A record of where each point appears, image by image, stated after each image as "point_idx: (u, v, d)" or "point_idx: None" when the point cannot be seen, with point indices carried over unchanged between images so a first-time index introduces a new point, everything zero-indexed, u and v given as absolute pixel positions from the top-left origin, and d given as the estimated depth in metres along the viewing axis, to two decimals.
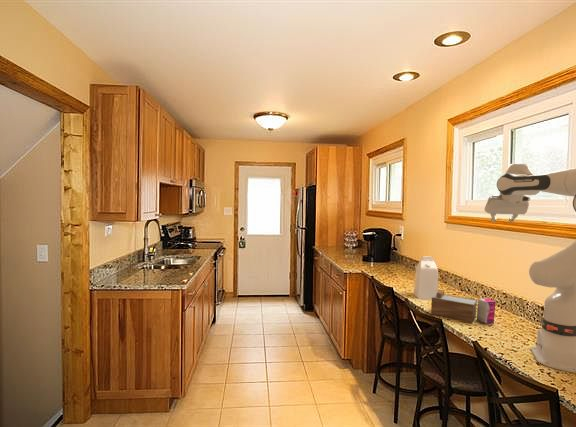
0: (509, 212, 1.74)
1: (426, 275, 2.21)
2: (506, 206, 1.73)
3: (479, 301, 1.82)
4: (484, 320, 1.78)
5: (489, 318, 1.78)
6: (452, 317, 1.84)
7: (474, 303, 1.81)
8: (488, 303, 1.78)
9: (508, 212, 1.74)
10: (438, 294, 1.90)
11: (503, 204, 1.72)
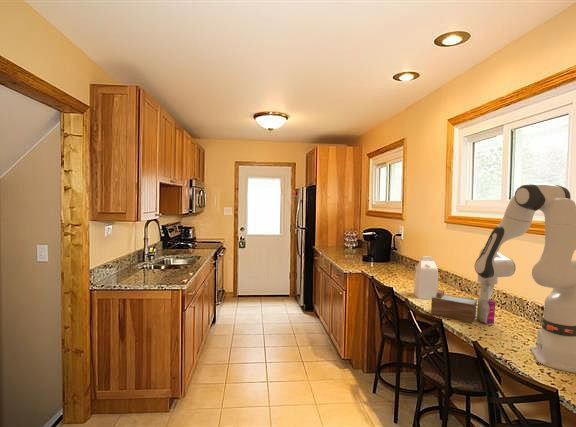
0: (490, 295, 1.80)
1: (426, 275, 2.21)
2: (490, 290, 1.79)
3: (479, 301, 1.82)
4: (484, 320, 1.78)
5: (489, 318, 1.78)
6: (452, 317, 1.84)
7: (474, 303, 1.81)
8: (488, 303, 1.78)
9: (490, 295, 1.80)
10: (438, 294, 1.90)
11: (489, 288, 1.77)
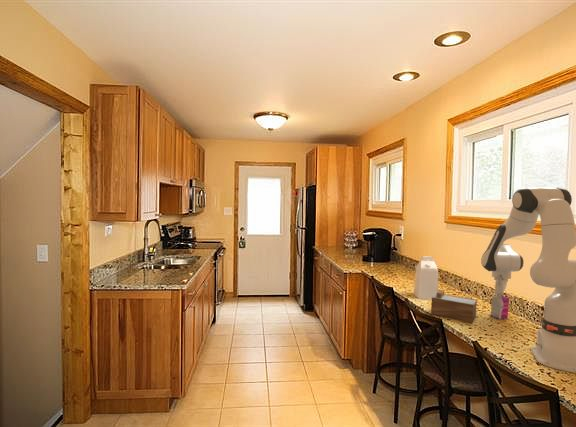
0: (504, 289, 1.88)
1: (426, 275, 2.21)
2: (504, 284, 1.86)
3: (493, 298, 1.89)
4: (498, 316, 1.86)
5: (503, 314, 1.86)
6: (452, 317, 1.84)
7: (474, 303, 1.81)
8: (502, 299, 1.85)
9: (504, 289, 1.88)
10: (438, 294, 1.90)
11: None
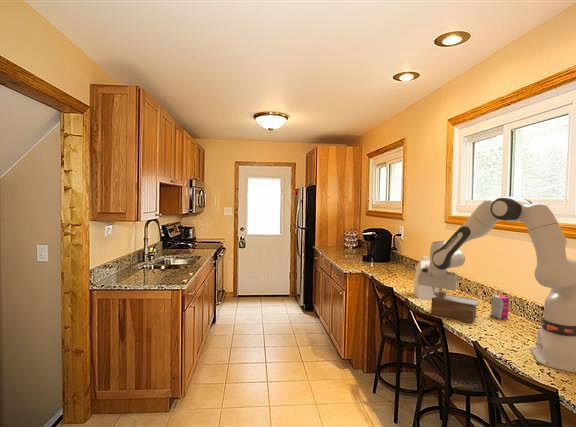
0: None
1: None
2: None
3: (493, 298, 1.89)
4: (498, 316, 1.86)
5: (503, 314, 1.86)
6: (452, 317, 1.84)
7: (476, 303, 1.81)
8: (502, 299, 1.85)
9: None
10: (440, 294, 1.89)
11: None
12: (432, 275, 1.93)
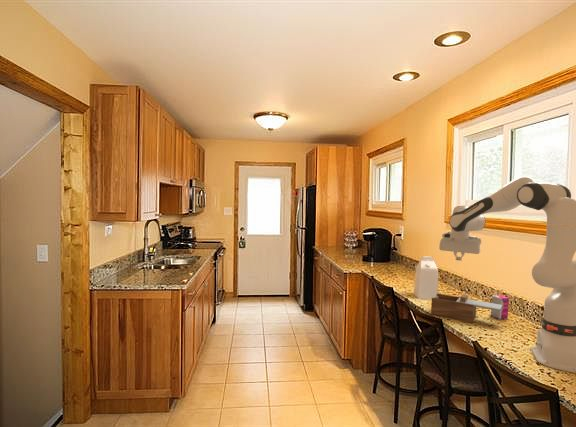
0: None
1: (426, 275, 2.21)
2: None
3: (493, 298, 1.89)
4: (498, 316, 1.86)
5: (503, 314, 1.86)
6: (452, 317, 1.84)
7: (501, 308, 1.74)
8: (502, 299, 1.85)
9: None
10: (462, 298, 1.83)
11: None
12: (454, 240, 1.93)
